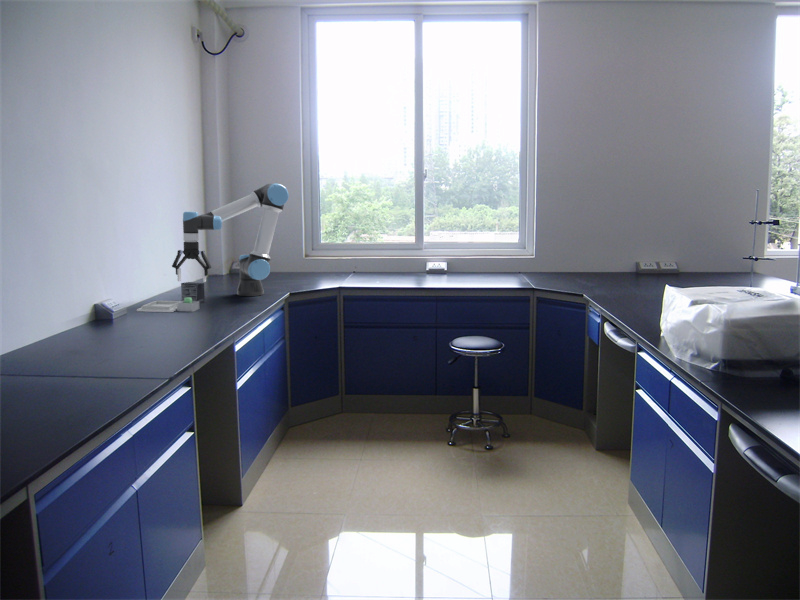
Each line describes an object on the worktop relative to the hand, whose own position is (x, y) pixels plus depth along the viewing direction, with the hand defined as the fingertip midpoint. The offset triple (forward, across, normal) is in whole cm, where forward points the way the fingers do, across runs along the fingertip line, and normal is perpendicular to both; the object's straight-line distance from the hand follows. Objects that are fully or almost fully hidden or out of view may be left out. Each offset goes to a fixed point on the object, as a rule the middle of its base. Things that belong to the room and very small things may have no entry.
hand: (191, 281), depth 330 cm
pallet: (+11, +8, +20) cm, 24 cm away
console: (+11, -6, +22) cm, 25 cm away
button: (+9, -6, +22) cm, 24 cm away
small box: (+11, 0, 0) cm, 11 cm away
